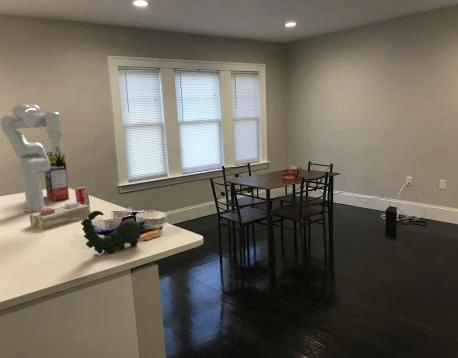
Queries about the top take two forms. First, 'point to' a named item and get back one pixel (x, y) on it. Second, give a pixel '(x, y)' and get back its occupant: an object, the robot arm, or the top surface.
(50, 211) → the red plunger
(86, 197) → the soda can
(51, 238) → the top surface
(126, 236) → the toy figurine
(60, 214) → the console
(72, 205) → the grey plunger
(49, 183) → the cereal box
